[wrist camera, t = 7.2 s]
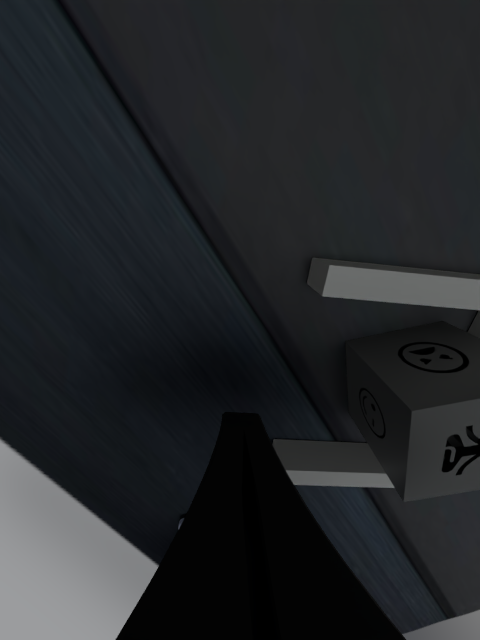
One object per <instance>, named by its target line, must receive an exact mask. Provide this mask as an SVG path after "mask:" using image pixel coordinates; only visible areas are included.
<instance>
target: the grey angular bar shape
mask: <svg viewBox="0 0 480 640" xmlns="http://www.w3.org/2000/svg"><path fill="white" fill-rule="evenodd" d="M307 284H308V285H309V286H310V287H311V288H313V289H314V290H315V291H316V292H317V293H319V294H320V295H321V296H325V297H336V298H347V299H358V300H370V301H381V302H392V303H403V304H415V305H426V306H437V307H448V308H460V309H471V310H479V311H478V313H477V315H476V317H475V319H474V321H473V323H472V325H471V326H470V328H469V330H468V332H467V333H469V334H472V335H474V336H476V337H478V338H480V274H472V273H462V272H452V271H442V270H432V269H422V268H412V267H402V266H392V265H383V264H373V263H363V262H353V261H343V260H333V259H323V258H313V257H312V261H311V266H310V271H309V275H308V280H307ZM272 445H273V447H274V449H275V451H276V453H277V455H278V457H279V459H280V461H281V463H282V464H283V466H284V468H285V470H286V472H287V474H288V475H289V477H290V479H291V481H292V482H293V484H294V485H316V486H350V487H384V488H395V487H394V486H393V484H392V482H391V481H390V479H389V477H388V476H387V474H386V473H385V471H384V469H383V468H382V466H381V464H380V463H379V461H378V460H377V458H376V456H375V455H374V453H373V451H372V450H371V448H370V446H369V445H368V443H352V442H329V441H306V440H284V439H273V444H272Z"/></svg>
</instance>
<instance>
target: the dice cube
mask: <svg viewBox="0 0 480 640" xmlns="http://www.w3.org/2000/svg"><path fill="white" fill-rule="evenodd" d="M345 346H346V368H347V389H348V410H349V414H350V416H351V417H352V419H353V420H354V422H355V424H356V425H357V427H358V429H359V430H360V432H361V433H362V435H363V437H364V438H365V440H366V442H367V443H368V445H369V446H370V448H371V450H372V451H373V453H374V455H375V456H376V458H377V460H378V461H379V463H380V464H381V466H382V468H383V469H384V471H385V473H386V474H387V476H388V477H389V479H390V481H391V482H392V484H393V486H394V487H395V489H396V490H397V492H398V494H399V495H400V497H401V499H402V500H403V502H408V501H414V500H420V499H426V498H432V497H438V496H444V495H450V494H456V493H462V492H468V491H474V490H480V338H478V337H476V336H474V335H472V334H469V333H467V332H465V331H463V330H461V329H459V328H457V327H455V326H452V325H450V324H448V323H446V322H444V321H441V322H436V323H431V324H426V325H421V326H416V327H411V328H407V329H402V330H397V331H392V332H387V333H382V334H377V335H373V336H368V337H363V338H358V339H353V340H348V341H345Z"/></svg>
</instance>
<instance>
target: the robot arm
mask: <svg viewBox="0 0 480 640" xmlns="http://www.w3.org/2000/svg"><path fill="white" fill-rule="evenodd" d="M116 640H406V639H405V638H404V637H403V635H402V634H401V633H400V631H399V630H398V629H397V628H396V627H395V625H394V624H393V623H392V622H391V621H390V619H389V618H388V617H387V616H386V614H385V613H384V612H383V611H382V609H381V608H380V607H379V605H378V604H377V603H376V601H375V600H374V599H373V598H372V596H371V595H370V594H369V592H368V591H367V590H366V589H365V587H364V586H363V585H362V583H361V582H360V581H359V579H358V578H357V577H356V576H355V574H354V573H353V572H352V570H351V569H350V568H349V566H348V565H347V564H346V562H345V561H344V560H343V558H342V557H341V556H340V554H339V553H338V551H337V550H336V549H335V547H334V546H333V544H332V543H331V542H330V540H329V539H328V537H327V536H326V534H325V533H324V531H323V530H322V528H321V527H320V525H319V524H318V523H317V521H316V520H315V518H314V516H313V515H312V513H311V512H310V510H309V509H308V507H307V506H306V504H305V502H304V501H303V499H302V497H301V496H300V494H299V492H298V491H297V489H296V488H295V486H294V484H293V482H292V481H291V479H290V477H289V475H288V474H287V472H286V470H285V468H284V466H283V464H282V463H281V461H280V459H279V457H278V455H277V453H276V451H275V449H274V447H273V445H272V443H271V441H270V439H269V437H268V434H267V432H266V430H265V428H264V425H263V423H262V420H261V418H260V416H259V415H258V414H253V413H234V412H225V413H224V414H222V423H221V428H220V432H219V435H218V439H217V442H216V445H215V448H214V451H213V454H212V456H211V459H210V462H209V465H208V467H207V470H206V472H205V474H204V477H203V479H202V481H201V483H200V486H199V488H198V490H197V493H196V495H195V497H194V499H193V501H192V504H191V506H190V508H189V510H188V512H187V514H186V516H185V518H182V519H181V520H180V521H179V526H178V532H177V534H176V536H175V537H174V539H173V541H172V543H171V545H170V547H169V549H168V550H167V552H166V554H165V556H164V558H163V560H162V562H161V563H160V565H159V567H158V569H157V571H156V572H155V574H154V576H153V578H152V579H151V581H150V583H149V585H148V586H147V588H146V590H145V592H144V593H143V595H142V596H141V598H140V600H139V602H138V603H137V605H136V607H135V608H134V610H133V612H132V613H131V615H130V617H129V618H128V620H127V622H126V623H125V625H124V627H123V628H122V630H121V632H120V633H119V635H118V637H117V638H116Z"/></svg>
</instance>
